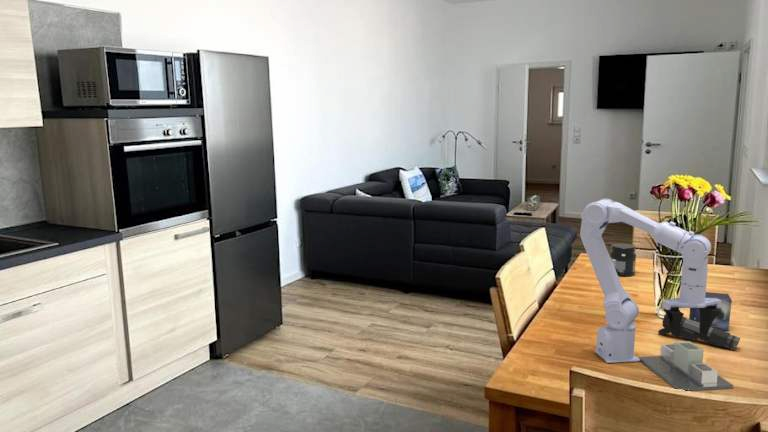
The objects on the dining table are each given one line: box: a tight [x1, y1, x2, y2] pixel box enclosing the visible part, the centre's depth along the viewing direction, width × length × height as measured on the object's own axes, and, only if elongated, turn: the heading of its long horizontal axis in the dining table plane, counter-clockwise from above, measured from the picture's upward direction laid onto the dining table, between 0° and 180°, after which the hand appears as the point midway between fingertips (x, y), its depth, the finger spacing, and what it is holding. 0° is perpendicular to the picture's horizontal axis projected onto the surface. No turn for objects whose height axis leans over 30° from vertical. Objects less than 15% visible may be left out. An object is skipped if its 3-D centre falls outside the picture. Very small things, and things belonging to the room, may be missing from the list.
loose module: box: [673, 340, 704, 373], centre depth 153 cm, size 4×6×6 cm, turn 6°
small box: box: [688, 291, 733, 333], centre depth 186 cm, size 11×6×10 cm, turn 70°
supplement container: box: [608, 243, 637, 277], centre depth 248 cm, size 10×10×12 cm
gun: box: [657, 313, 741, 351], centre depth 174 cm, size 4×20×10 cm, turn 52°
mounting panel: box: [637, 342, 734, 391], centre depth 153 cm, size 14×19×5 cm
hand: (689, 334), depth 152 cm, fingers open, 7 cm apart
